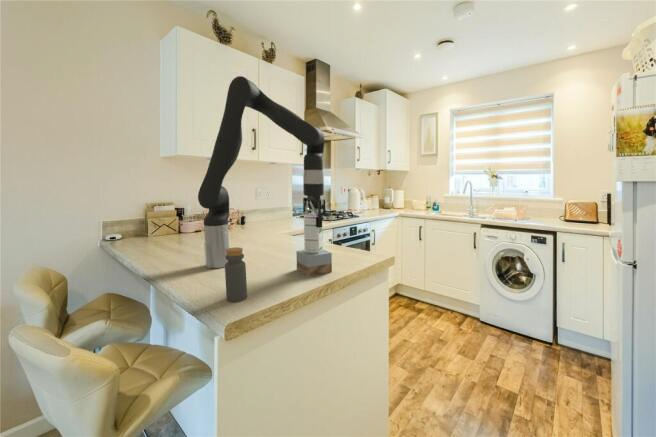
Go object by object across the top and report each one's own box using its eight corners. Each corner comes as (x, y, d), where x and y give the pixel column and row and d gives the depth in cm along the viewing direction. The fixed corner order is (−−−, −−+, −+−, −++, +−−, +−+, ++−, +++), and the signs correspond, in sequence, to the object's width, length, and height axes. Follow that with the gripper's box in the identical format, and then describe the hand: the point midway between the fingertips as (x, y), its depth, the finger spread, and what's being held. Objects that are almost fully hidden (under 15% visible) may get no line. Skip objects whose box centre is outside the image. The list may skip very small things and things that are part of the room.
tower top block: (307, 267, 108) (307, 256, 107) (296, 260, 116) (296, 250, 116) (331, 263, 113) (331, 253, 112) (319, 257, 121) (319, 247, 121)
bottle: (233, 303, 85) (230, 252, 83) (222, 298, 89) (219, 249, 87) (251, 297, 89) (248, 248, 87) (240, 293, 93) (237, 246, 91)
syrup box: (319, 253, 111) (319, 215, 108) (303, 252, 112) (303, 214, 110) (322, 249, 117) (322, 212, 114) (308, 248, 118) (307, 212, 115)
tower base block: (308, 277, 108) (307, 267, 108) (296, 270, 117) (296, 261, 116) (331, 273, 113) (331, 263, 113) (319, 267, 122) (319, 257, 121)
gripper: (296, 182, 115) (297, 224, 117) (312, 182, 103) (313, 229, 105) (314, 182, 118) (314, 222, 121) (331, 182, 106) (332, 227, 108)
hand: (314, 225), depth 113 cm, fingers open, 8 cm apart
